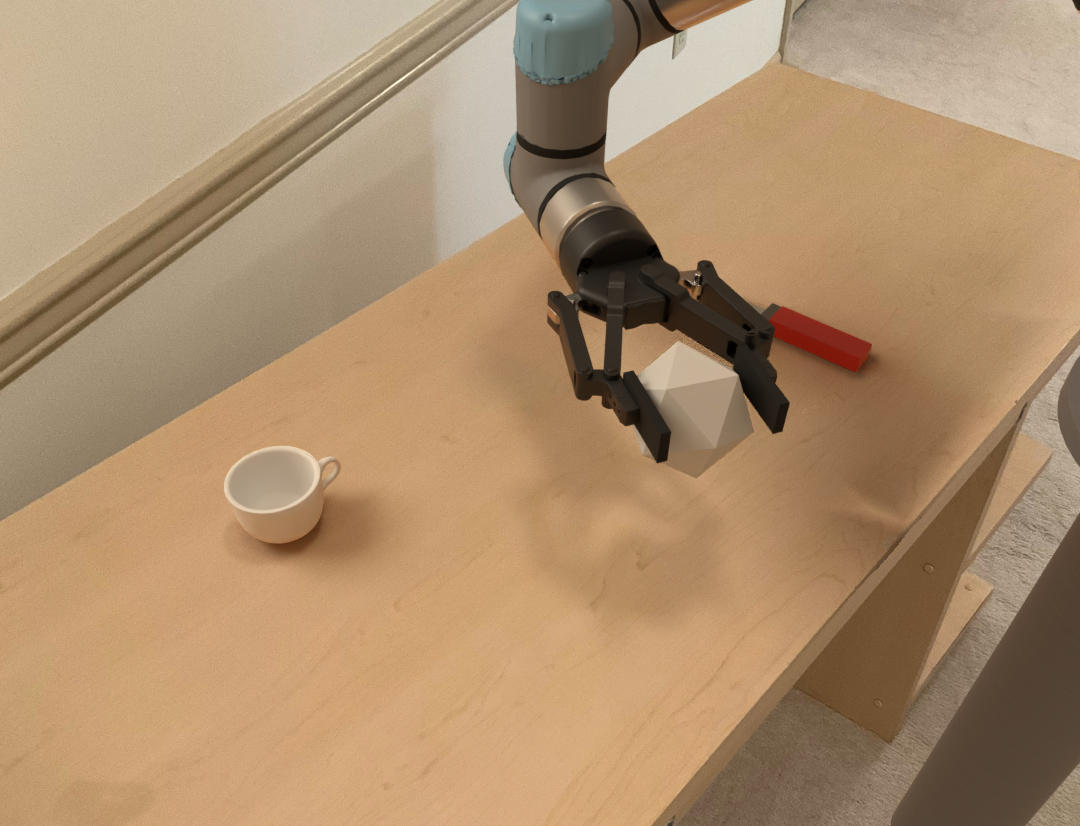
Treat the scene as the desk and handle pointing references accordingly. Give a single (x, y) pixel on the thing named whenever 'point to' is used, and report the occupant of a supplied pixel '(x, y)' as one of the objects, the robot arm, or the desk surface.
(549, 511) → the desk surface
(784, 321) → the knife
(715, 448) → the white icosahedron
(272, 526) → the teacup
